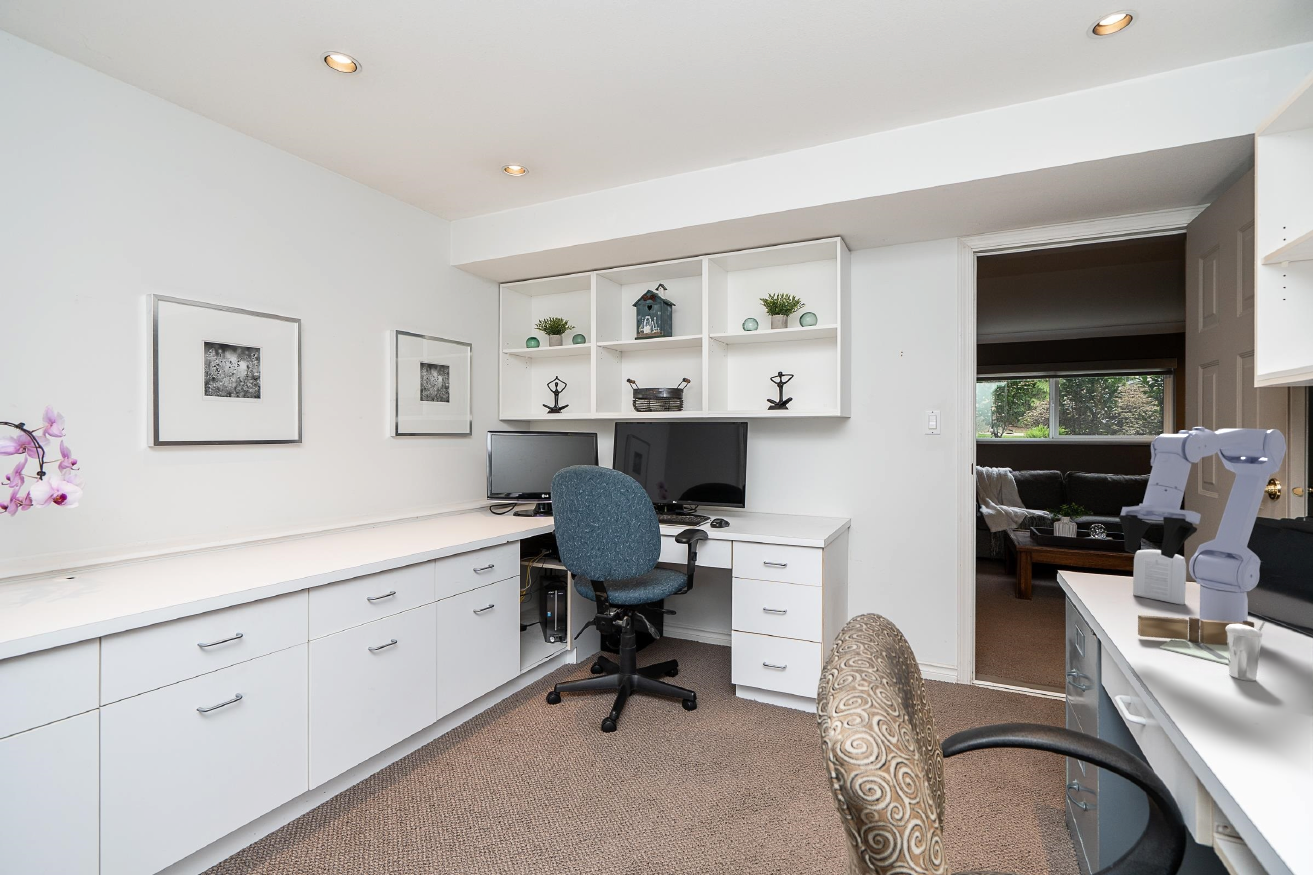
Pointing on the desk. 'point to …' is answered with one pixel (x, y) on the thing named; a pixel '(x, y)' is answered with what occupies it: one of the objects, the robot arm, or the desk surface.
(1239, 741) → the desk surface
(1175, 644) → the card
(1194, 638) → the fence fixed
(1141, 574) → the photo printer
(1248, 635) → the milkshake
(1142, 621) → the fence wing
